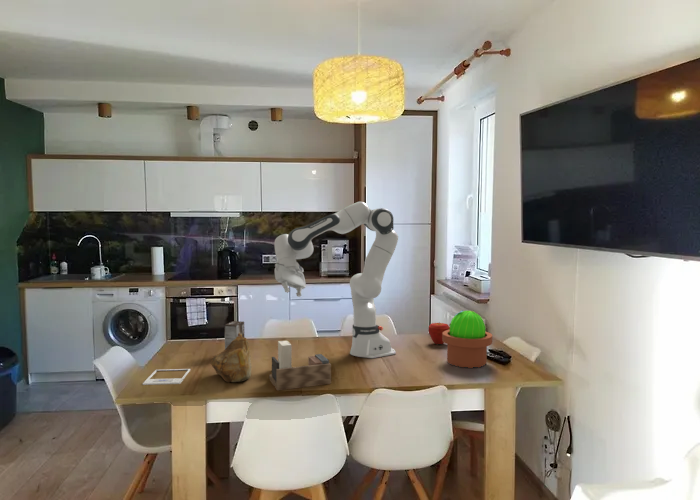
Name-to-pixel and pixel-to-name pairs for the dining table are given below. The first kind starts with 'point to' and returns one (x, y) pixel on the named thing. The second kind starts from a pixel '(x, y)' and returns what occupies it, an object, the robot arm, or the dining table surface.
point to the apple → (437, 331)
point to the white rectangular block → (284, 354)
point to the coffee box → (233, 331)
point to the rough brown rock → (234, 361)
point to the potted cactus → (467, 340)
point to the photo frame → (165, 381)
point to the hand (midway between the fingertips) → (293, 294)
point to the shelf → (301, 374)
